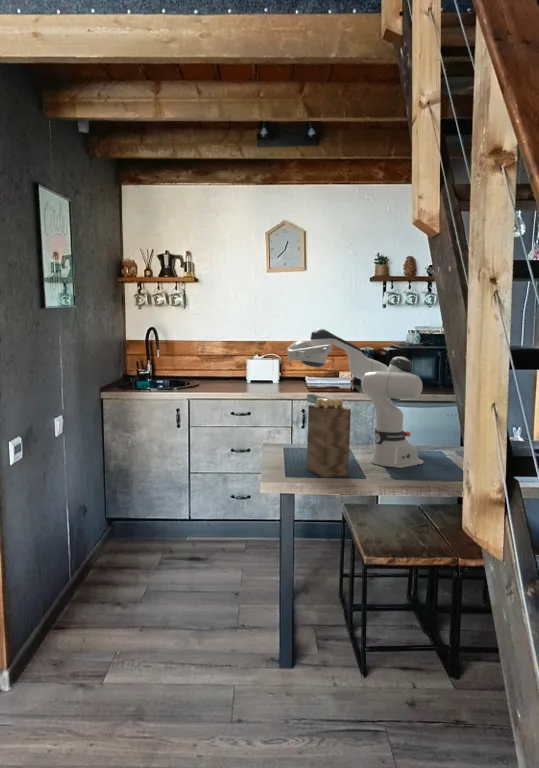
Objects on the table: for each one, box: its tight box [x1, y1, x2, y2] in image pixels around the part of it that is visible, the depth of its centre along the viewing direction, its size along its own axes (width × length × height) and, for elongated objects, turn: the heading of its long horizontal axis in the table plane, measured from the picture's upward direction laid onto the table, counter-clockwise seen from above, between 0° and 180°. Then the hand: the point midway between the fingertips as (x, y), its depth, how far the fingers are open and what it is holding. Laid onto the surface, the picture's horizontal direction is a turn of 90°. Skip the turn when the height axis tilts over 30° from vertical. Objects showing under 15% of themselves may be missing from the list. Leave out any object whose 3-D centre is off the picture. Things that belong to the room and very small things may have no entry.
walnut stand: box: [306, 404, 352, 479], centre depth 223 cm, size 11×14×26 cm
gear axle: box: [306, 393, 344, 409], centre depth 226 cm, size 10×21×3 cm, turn 24°
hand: (315, 352), depth 248 cm, fingers open, 8 cm apart
